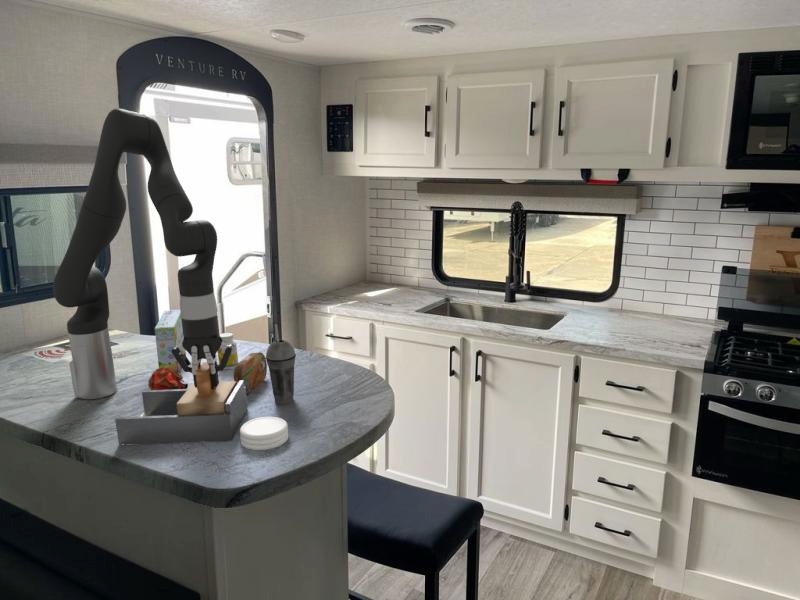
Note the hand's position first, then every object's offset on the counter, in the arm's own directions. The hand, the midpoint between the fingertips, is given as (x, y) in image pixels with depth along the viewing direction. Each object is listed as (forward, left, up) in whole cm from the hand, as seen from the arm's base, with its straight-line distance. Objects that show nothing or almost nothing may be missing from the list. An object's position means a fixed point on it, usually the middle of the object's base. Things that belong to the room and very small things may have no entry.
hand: (207, 388), depth 137 cm
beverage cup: (+15, +13, -9) cm, 22 cm away
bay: (-5, 0, -9) cm, 11 cm away
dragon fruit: (-15, +18, -9) cm, 26 cm away
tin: (+5, +23, -9) cm, 25 cm away
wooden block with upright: (0, 0, -8) cm, 8 cm away
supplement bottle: (-5, +40, -9) cm, 41 cm away
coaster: (+14, -8, -10) cm, 18 cm away
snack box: (-21, +41, -9) cm, 47 cm away
